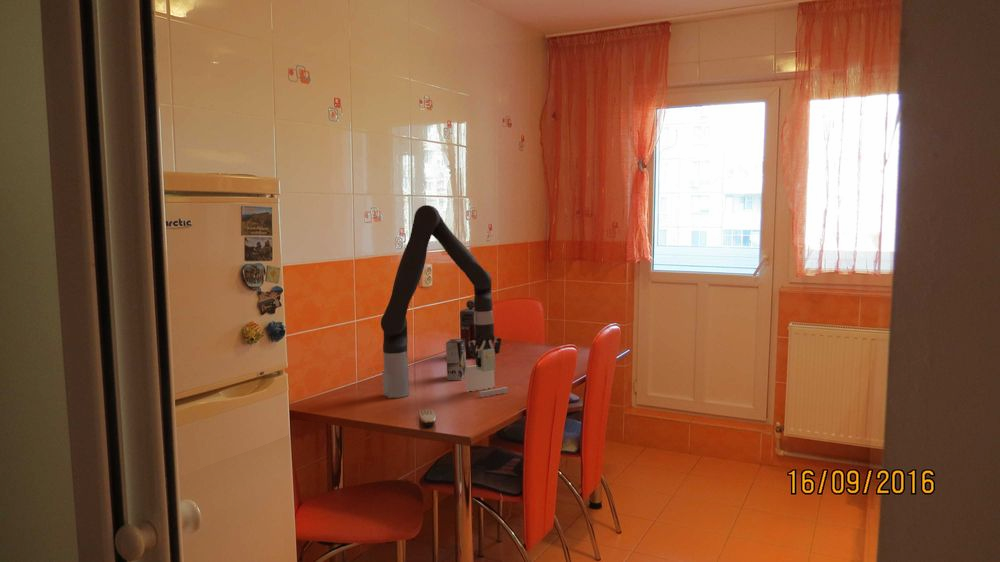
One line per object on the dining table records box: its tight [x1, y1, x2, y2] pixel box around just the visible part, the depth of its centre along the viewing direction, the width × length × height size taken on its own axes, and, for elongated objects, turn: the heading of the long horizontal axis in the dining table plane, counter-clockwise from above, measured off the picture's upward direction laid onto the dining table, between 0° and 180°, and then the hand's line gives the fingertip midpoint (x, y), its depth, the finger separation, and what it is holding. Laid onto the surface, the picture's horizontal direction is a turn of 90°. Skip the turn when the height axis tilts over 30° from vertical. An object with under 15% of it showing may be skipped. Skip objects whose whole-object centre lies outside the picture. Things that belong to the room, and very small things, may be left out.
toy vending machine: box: [459, 299, 477, 358], centre depth 339 cm, size 9×11×28 cm
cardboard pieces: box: [465, 364, 509, 398], centre depth 270 cm, size 12×11×10 cm
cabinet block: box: [475, 348, 496, 372], centre depth 270 cm, size 5×7×8 cm
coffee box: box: [445, 338, 467, 381], centre depth 297 cm, size 9×6×16 cm
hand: (485, 365), depth 270 cm, fingers closed on cabinet block, 5 cm apart
